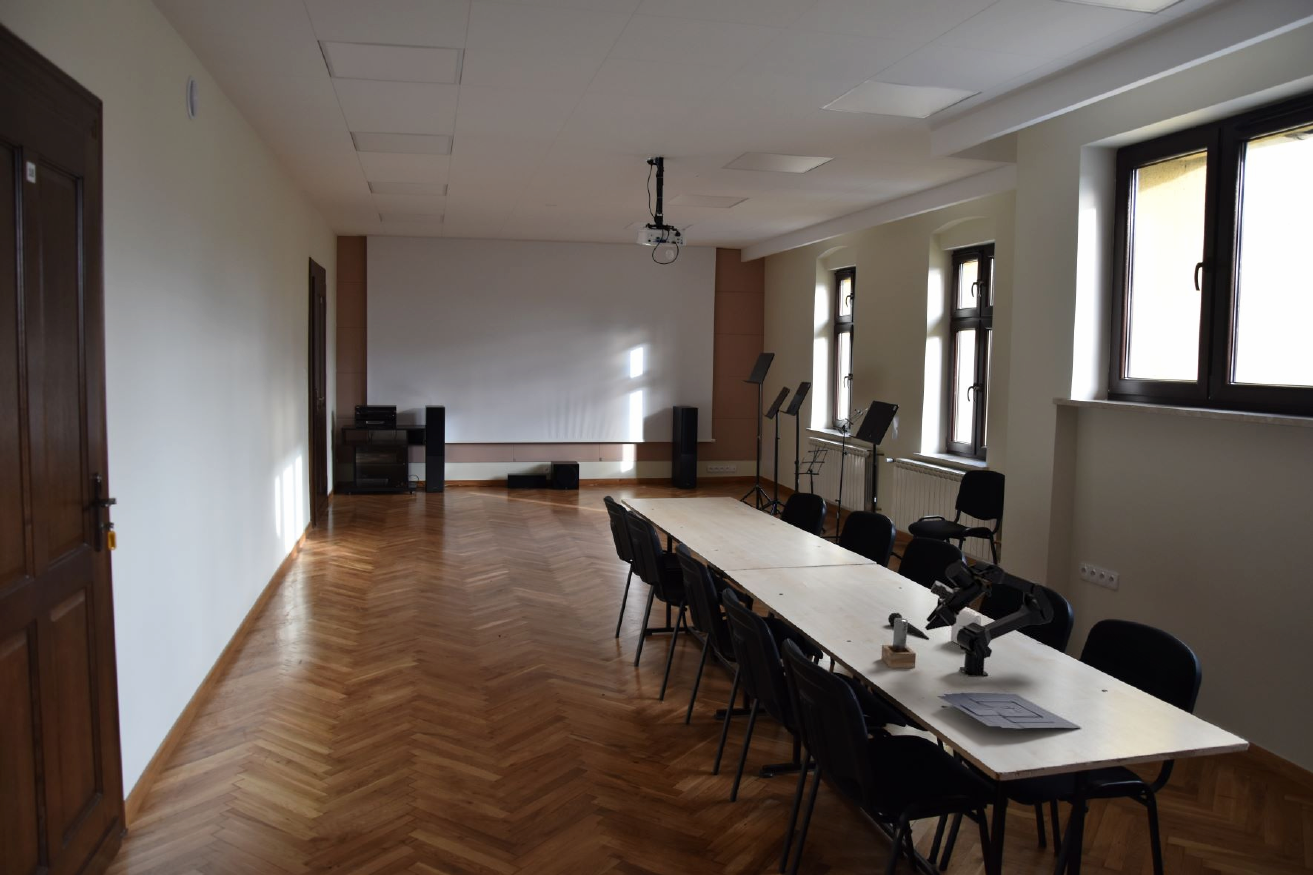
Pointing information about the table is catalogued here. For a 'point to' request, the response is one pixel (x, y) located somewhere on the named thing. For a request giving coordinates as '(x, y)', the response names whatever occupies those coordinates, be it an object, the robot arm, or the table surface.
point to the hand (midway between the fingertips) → (926, 624)
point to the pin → (900, 635)
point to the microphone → (909, 627)
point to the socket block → (898, 657)
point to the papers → (1006, 710)
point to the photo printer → (964, 622)
